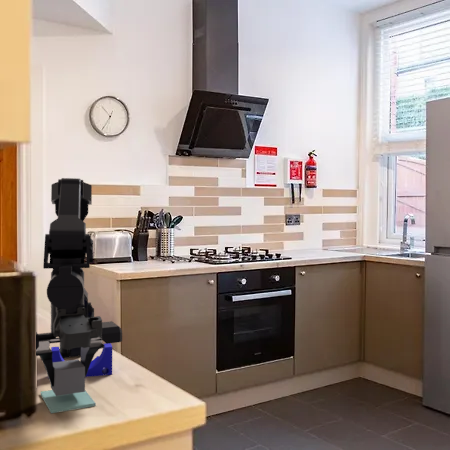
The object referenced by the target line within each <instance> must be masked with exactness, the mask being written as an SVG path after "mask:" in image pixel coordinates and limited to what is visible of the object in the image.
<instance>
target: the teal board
mask: <svg viewBox="0 0 450 450" xmlns="http://www.w3.org/2000/svg"><path fill="white" fill-rule="evenodd" d="M40 396H41V398H42V400H43V401H44V403H45V405H46V407H47V409H48V411H49V412H50V414H54V413H62V412H68V411H73V410H79V409H85V408H86V409H87V408H91V407H97V406H96V402H95V400H94V399H93V398H92V397H91V395H90V394H89V393H88V391H86V389H85V392H80V393H73V394H67V395H60V396H56V395H55V393H54V392H53V390H52V389H50V390H48V389H47V390H44V391H40Z"/></svg>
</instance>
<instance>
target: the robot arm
mask: <svg viewBox="0 0 450 450" xmlns="http://www.w3.org/2000/svg"><path fill="white" fill-rule="evenodd" d="M92 187H93V186H92V184H90V183H86V182H84V180H83V179H81V178H75V177H74V178H70V177H67V178H65V177H62V178H61V179H59V178H58V180H57V182H54V183H52V184H51V189H50V190H51V191H50V192H51V194H50V197H51V198H50V201H51V204H52V205H54V211H55V212H54V213H55V215H56V216H57V218H56V219H55V220H53V221H52V222H50V224H49V231H48V233H45V235H44V246H43V247H44V250H43V269H45V270H46V269H52V271H51V272H50V280H49V282H48V283H47V284H48V285H47V287H46V297H47V299H48V302H49V303H50V332H42V333H38V332H37V331H36V357H39V358H40V360H41V362H42V364H43V366H44V369H45V372H46V375H47V377H48V380H49V384H50V387H51V386H54V370H53V361H52V355H53V352H52V350H51V348H50V346H51V345H50V344H57V343H59V351H60V354H61V356H62V358H63V359H65V358H67V359H68V358H75V357H80V359H79V361H80V362H81V363H82V364H83V365H84V366H85V378H87V377H86V375H87V372H88V369H89V366H90V364H91V361H92V360H94V357H95V355H96V354H97V352H98V351H100V349H102V350H103V348H104V346H105V345H104V344H108V343H111V344H116V343H121V342H123V330H122V328H121V326H119V325H118V324H116V323H115V322H114V321H112V320H111V321H103V319H102V317H101V315H97V316H95V308H94V307H93V305H92V302H89V293H88V292H87V290H86V288H85V271H84V269H90V268H91V267H90V264H93V263H94V240H93V238H92V235H90V233H87V227H86V225H87V224H86V222H84V221H85V219H86V218H87V216H88V214H89V206H91V205H92V198H93V196H92V194H93V193H92V192H93V191H92ZM86 233H87V234H86ZM85 260H86V261H85ZM103 342H104V343H103Z"/></svg>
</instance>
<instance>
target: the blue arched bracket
mask: <svg viewBox="0 0 450 450" xmlns="http://www.w3.org/2000/svg"><path fill="white" fill-rule="evenodd" d="M103 344H104V345H105V346H104V348H102V351H101V353H100V355H97V356H96V357H95V358H93V359H92V361H91V364H90V366H89V369H88V372H87V375H86V377H85V378H88V377H100V376H111V375H113V345H112V343H108V344H106V343H103ZM50 349H51V350H52V352H53V355H52V361H53V362H61V361H66V360H65V358H62V356H61V354H60V351H59V349H60V346H51V348H50Z"/></svg>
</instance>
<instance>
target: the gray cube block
mask: <svg viewBox="0 0 450 450" xmlns="http://www.w3.org/2000/svg"><path fill="white" fill-rule="evenodd" d="M53 370H54V386H51V385H50V390H53V392H54V393H55V395H56V396H60V395H67V394H73V393H80V392H85V390H86V377H85V366H84V365H83V364H82V363H81V362H80V359H70V360H65V361H61V362H53Z"/></svg>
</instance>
